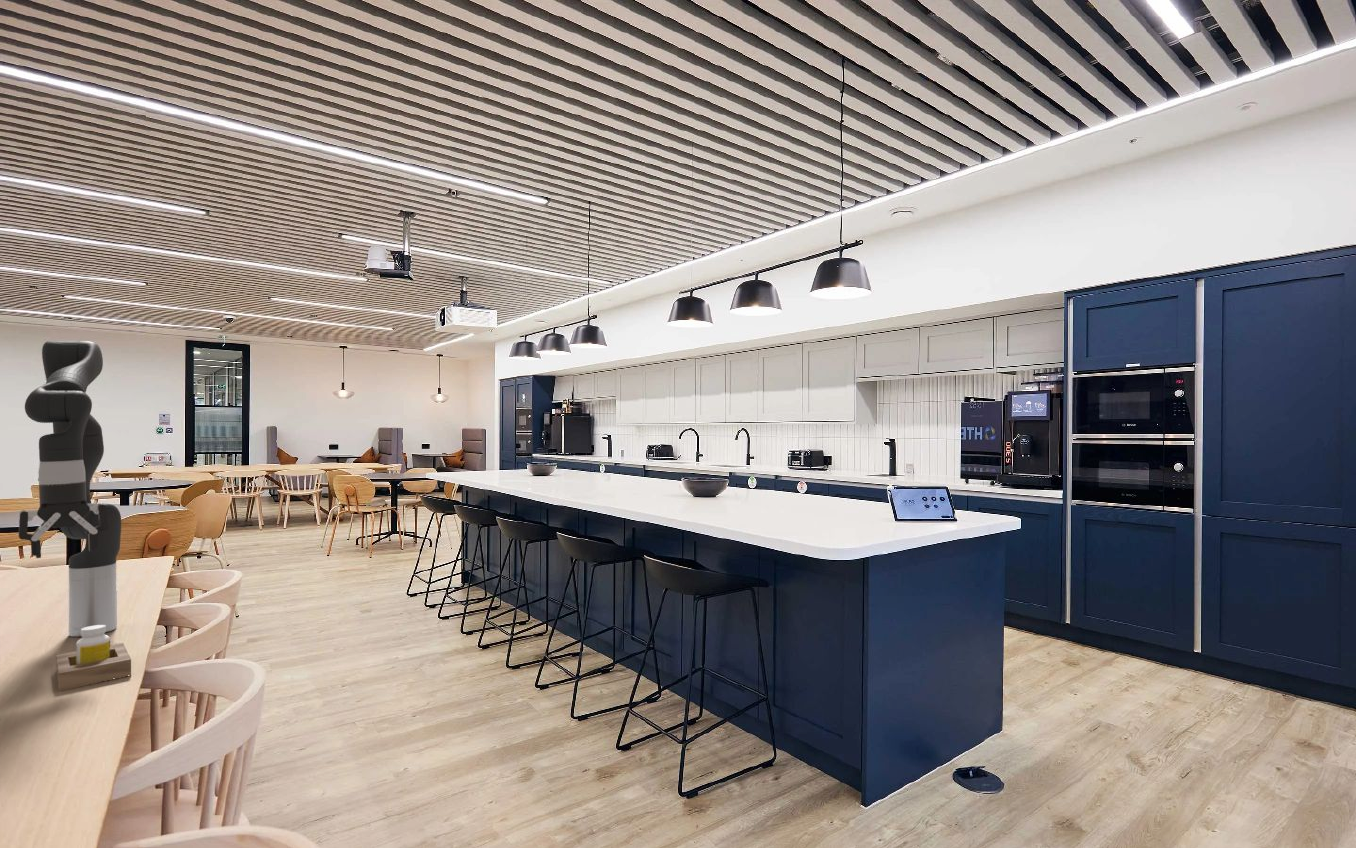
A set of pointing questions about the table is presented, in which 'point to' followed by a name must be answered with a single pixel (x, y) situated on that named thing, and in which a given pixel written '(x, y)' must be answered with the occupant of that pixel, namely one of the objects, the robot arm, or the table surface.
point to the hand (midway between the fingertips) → (65, 554)
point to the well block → (92, 668)
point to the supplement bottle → (92, 645)
